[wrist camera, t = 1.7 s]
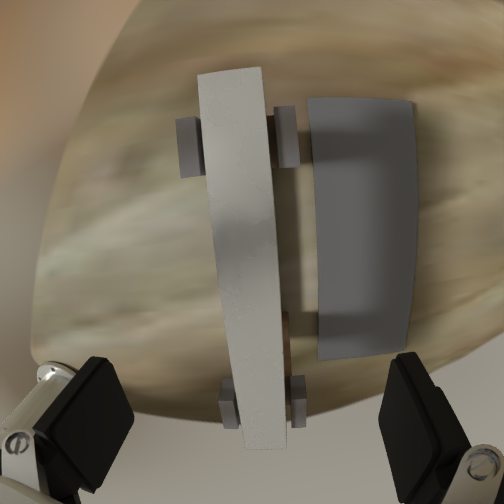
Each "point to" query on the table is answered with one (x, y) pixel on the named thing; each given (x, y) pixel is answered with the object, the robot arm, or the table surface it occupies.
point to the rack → (283, 156)
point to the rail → (246, 247)
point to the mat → (364, 223)
